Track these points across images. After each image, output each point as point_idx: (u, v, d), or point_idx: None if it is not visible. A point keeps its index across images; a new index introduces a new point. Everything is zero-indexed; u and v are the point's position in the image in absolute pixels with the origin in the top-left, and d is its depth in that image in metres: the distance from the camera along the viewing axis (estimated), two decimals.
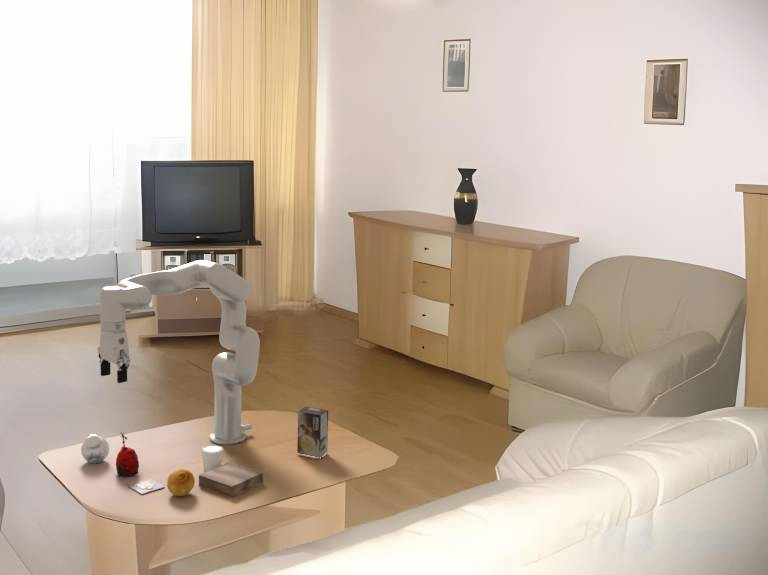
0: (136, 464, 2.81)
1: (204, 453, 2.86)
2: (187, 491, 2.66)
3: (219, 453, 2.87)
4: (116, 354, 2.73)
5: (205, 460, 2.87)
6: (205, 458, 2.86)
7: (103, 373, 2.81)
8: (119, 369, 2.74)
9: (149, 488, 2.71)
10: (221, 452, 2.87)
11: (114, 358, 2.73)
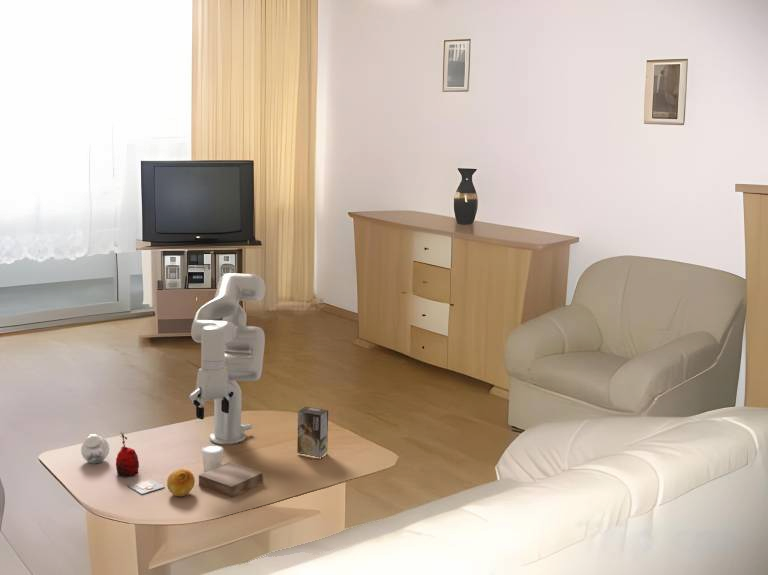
0: (136, 464, 2.81)
1: (204, 453, 2.86)
2: (187, 491, 2.66)
3: (219, 453, 2.87)
4: (228, 386, 2.87)
5: (205, 460, 2.87)
6: (205, 458, 2.86)
7: None
8: (229, 399, 2.88)
9: (149, 488, 2.71)
10: (221, 452, 2.87)
11: (227, 391, 2.86)
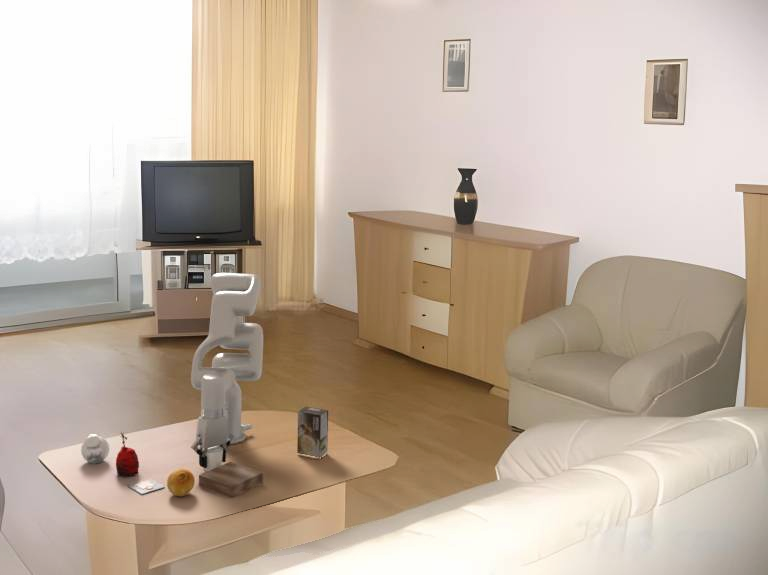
0: (136, 464, 2.81)
1: None
2: (187, 491, 2.66)
3: (219, 453, 2.87)
4: (228, 433, 2.90)
5: None
6: None
7: None
8: (226, 449, 2.91)
9: (149, 488, 2.71)
10: (221, 452, 2.87)
11: (226, 438, 2.89)
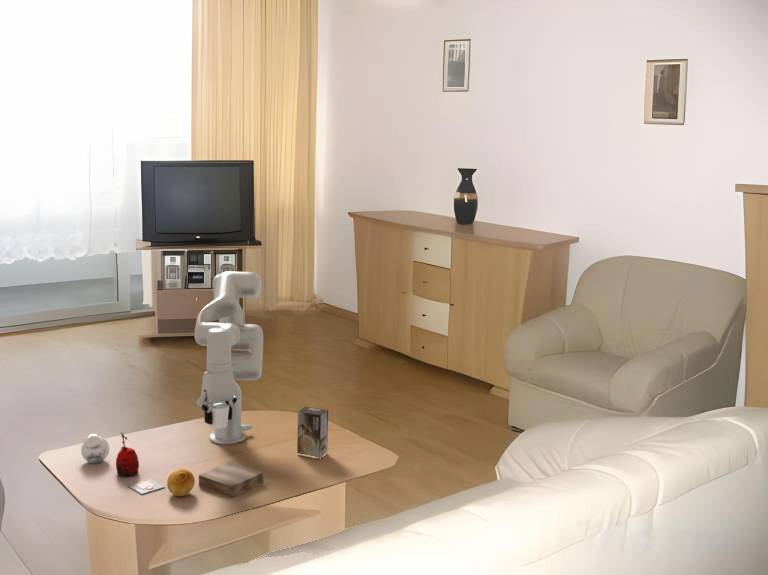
0: (136, 464, 2.81)
1: None
2: (187, 491, 2.66)
3: (225, 409, 2.79)
4: (234, 389, 2.83)
5: None
6: None
7: None
8: (232, 406, 2.84)
9: (149, 488, 2.71)
10: (227, 408, 2.80)
11: (233, 394, 2.82)
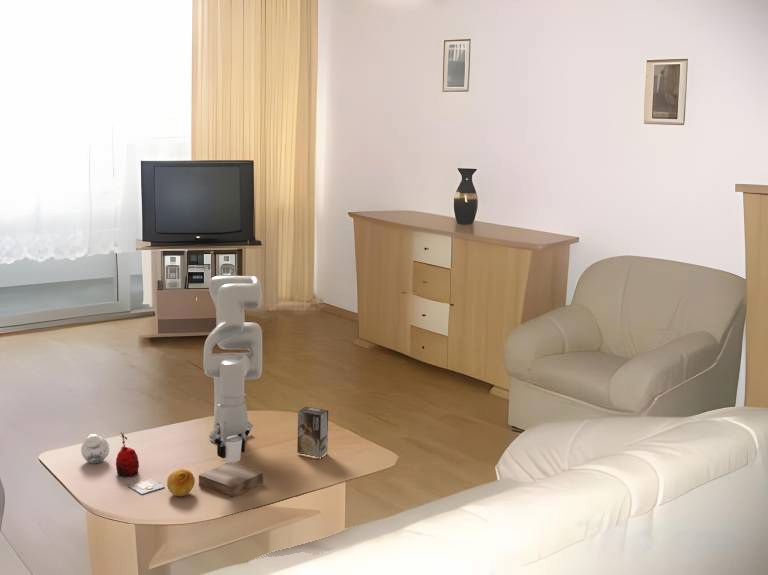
0: (136, 464, 2.81)
1: None
2: (187, 491, 2.66)
3: (238, 442, 2.73)
4: (247, 422, 2.77)
5: None
6: None
7: None
8: (245, 438, 2.78)
9: (149, 488, 2.71)
10: (240, 441, 2.74)
11: (246, 427, 2.76)
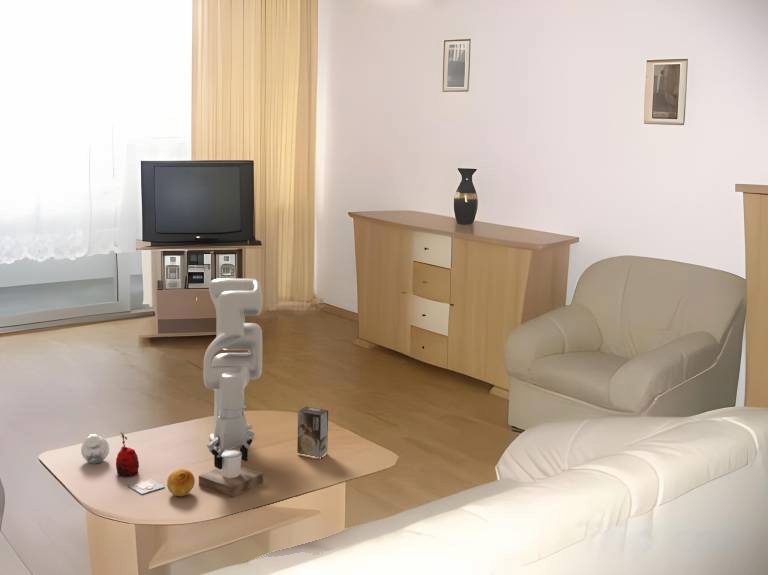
0: (136, 464, 2.81)
1: (222, 458, 2.74)
2: (187, 491, 2.66)
3: (238, 458, 2.75)
4: (247, 434, 2.77)
5: (223, 465, 2.75)
6: (223, 463, 2.74)
7: None
8: (247, 447, 2.79)
9: (149, 488, 2.71)
10: (240, 457, 2.75)
11: (245, 439, 2.77)
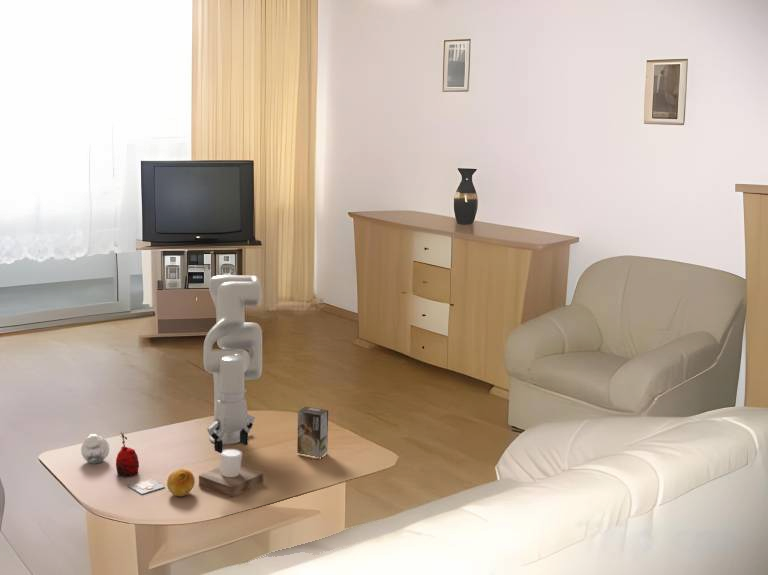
0: (136, 464, 2.81)
1: (222, 457, 2.74)
2: (187, 491, 2.66)
3: (238, 458, 2.75)
4: (247, 418, 2.76)
5: (223, 464, 2.75)
6: (223, 462, 2.74)
7: None
8: (248, 431, 2.78)
9: (149, 488, 2.71)
10: (240, 457, 2.75)
11: (246, 423, 2.76)
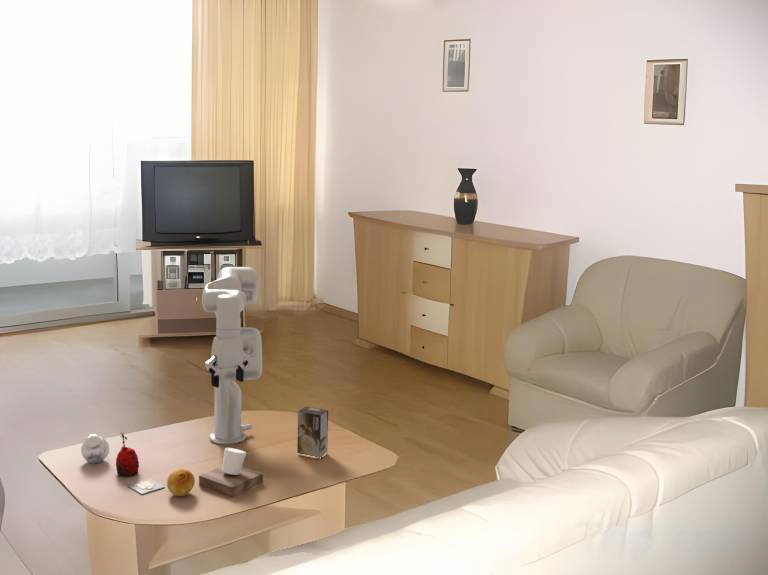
0: (136, 464, 2.81)
1: None
2: (187, 491, 2.66)
3: (236, 455, 2.74)
4: (243, 355, 2.88)
5: (223, 458, 2.76)
6: (224, 456, 2.76)
7: None
8: (243, 368, 2.90)
9: (149, 488, 2.71)
10: (240, 455, 2.75)
11: (241, 359, 2.87)
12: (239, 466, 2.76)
